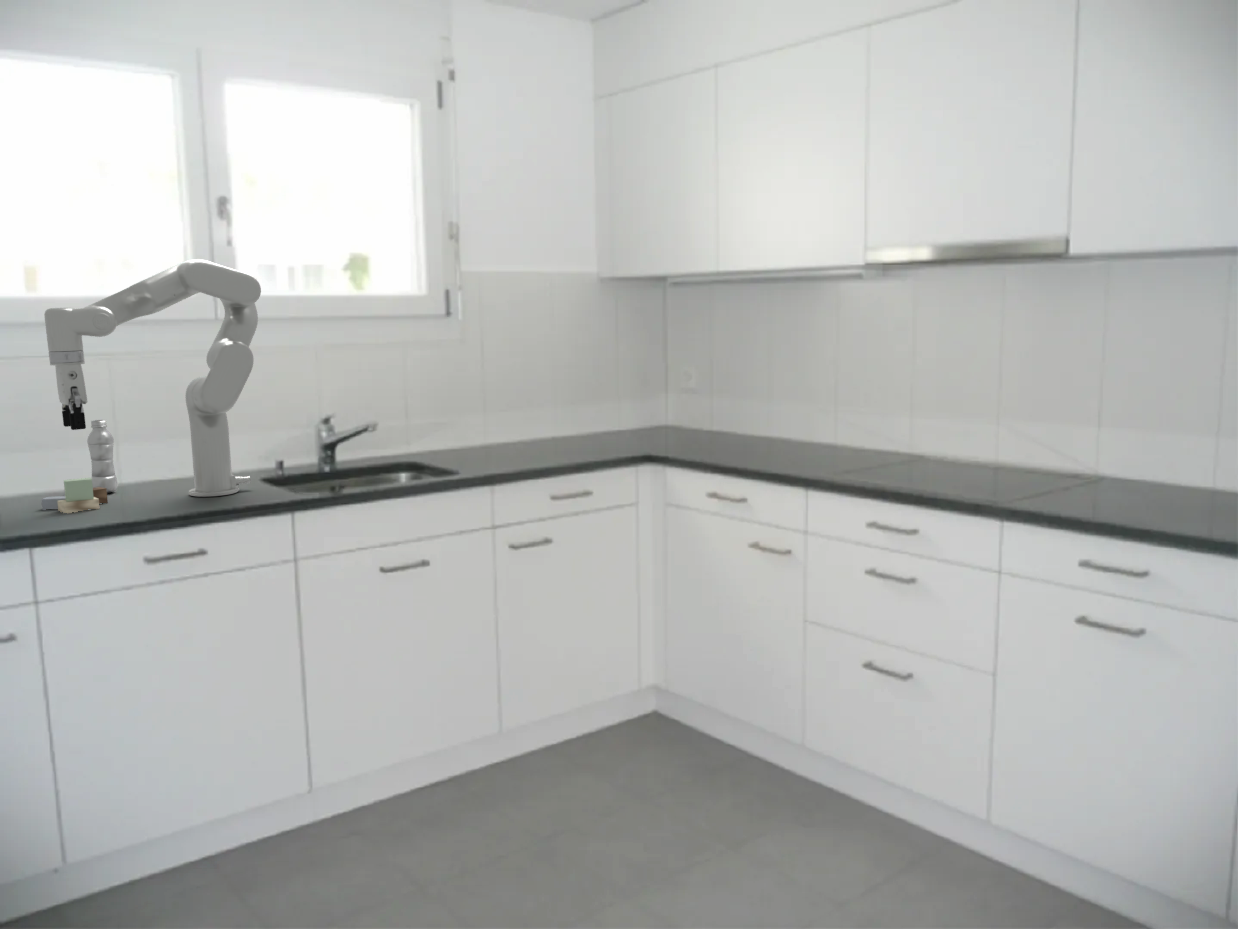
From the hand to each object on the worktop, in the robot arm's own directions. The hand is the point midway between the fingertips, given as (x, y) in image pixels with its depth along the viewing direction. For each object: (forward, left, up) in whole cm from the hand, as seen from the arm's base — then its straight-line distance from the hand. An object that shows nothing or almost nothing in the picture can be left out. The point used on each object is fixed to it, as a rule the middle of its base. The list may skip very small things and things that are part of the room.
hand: (74, 427), depth 248 cm
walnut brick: (-4, -6, -21) cm, 22 cm away
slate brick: (+5, -5, -21) cm, 22 cm away
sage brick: (+1, +1, -18) cm, 18 cm away
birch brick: (+1, +1, -21) cm, 21 cm away
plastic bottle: (-9, -22, -21) cm, 31 cm away
